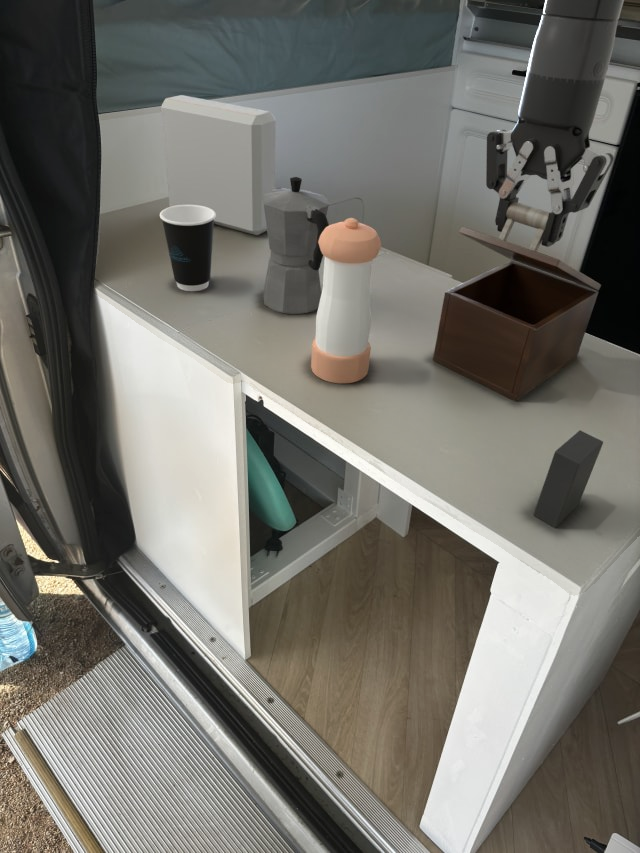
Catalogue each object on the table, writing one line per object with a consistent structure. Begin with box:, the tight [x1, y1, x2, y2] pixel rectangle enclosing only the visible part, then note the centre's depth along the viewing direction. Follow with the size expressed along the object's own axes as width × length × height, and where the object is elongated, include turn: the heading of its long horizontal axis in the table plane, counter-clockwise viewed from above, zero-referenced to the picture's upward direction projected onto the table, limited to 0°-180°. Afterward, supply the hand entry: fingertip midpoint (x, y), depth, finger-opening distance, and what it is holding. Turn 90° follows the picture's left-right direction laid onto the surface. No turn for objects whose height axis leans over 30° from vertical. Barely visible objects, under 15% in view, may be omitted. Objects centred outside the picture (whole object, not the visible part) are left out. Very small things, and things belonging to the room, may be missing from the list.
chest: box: [432, 260, 599, 402], centre depth 84 cm, size 16×13×10 cm
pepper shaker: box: [310, 217, 382, 384], centre depth 77 cm, size 7×7×19 cm
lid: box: [458, 202, 602, 292], centre depth 78 cm, size 16×13×5 cm
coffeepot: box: [262, 176, 330, 315], centre depth 92 cm, size 15×9×18 cm, turn 29°
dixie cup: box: [159, 205, 216, 292], centre depth 97 cm, size 8×8×11 cm
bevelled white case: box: [160, 94, 277, 236], centre depth 118 cm, size 21×8×20 cm, turn 60°
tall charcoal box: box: [533, 429, 604, 529], centre depth 62 cm, size 2×5×8 cm, turn 135°
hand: (525, 236), depth 75 cm, fingers closed on lid, 5 cm apart
